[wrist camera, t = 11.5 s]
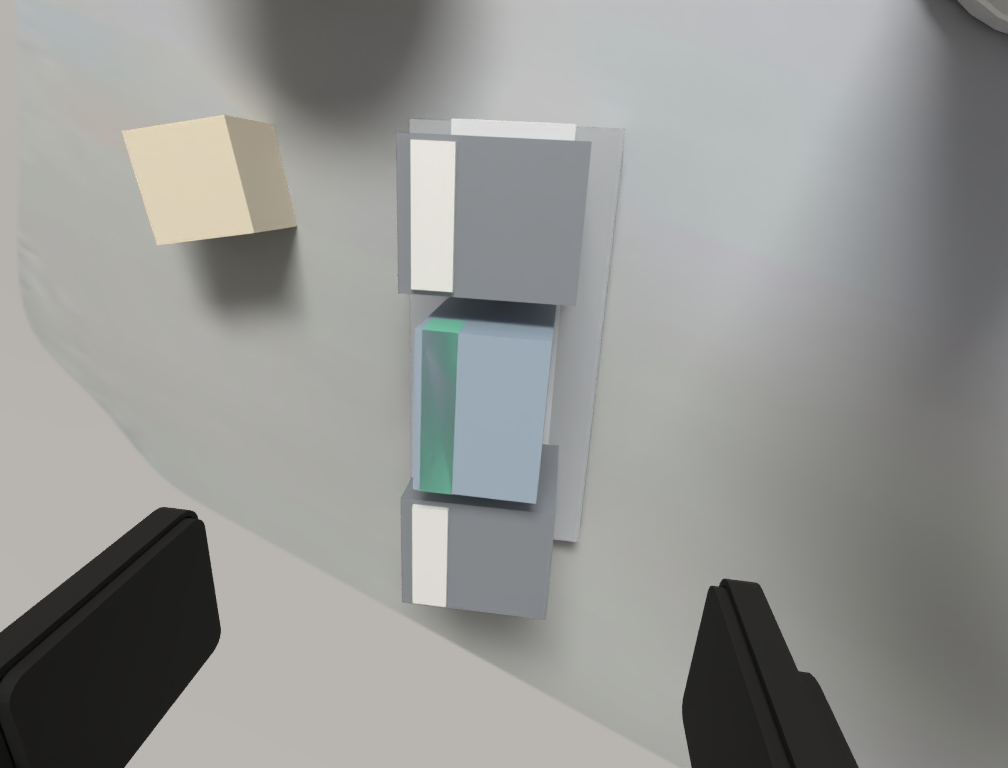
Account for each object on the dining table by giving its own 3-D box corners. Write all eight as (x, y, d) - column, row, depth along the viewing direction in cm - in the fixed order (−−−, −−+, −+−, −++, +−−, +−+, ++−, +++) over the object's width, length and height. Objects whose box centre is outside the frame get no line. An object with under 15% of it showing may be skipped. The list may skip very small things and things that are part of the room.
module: (455, 290, 25) (414, 328, 18) (557, 299, 25) (552, 341, 18) (450, 415, 27) (412, 489, 20) (544, 425, 27) (536, 504, 20)
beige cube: (185, 138, 26) (121, 131, 23) (274, 124, 26) (224, 114, 22) (212, 236, 28) (157, 245, 24) (298, 226, 27) (254, 233, 23)
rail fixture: (416, 121, 25) (345, 92, 17) (622, 131, 24) (648, 106, 16) (417, 511, 32) (366, 620, 24) (577, 529, 31) (580, 647, 23)
